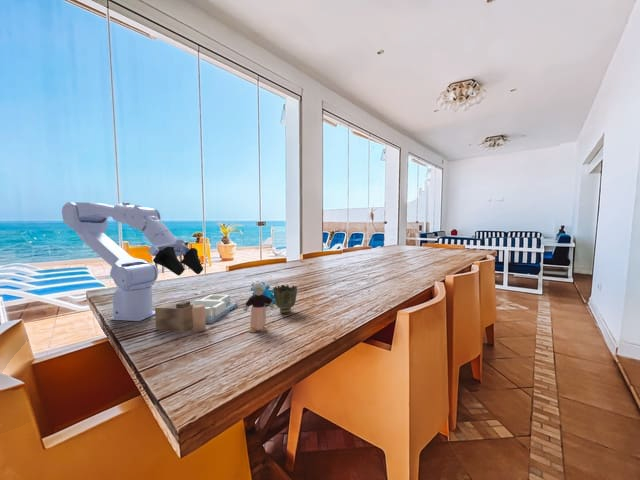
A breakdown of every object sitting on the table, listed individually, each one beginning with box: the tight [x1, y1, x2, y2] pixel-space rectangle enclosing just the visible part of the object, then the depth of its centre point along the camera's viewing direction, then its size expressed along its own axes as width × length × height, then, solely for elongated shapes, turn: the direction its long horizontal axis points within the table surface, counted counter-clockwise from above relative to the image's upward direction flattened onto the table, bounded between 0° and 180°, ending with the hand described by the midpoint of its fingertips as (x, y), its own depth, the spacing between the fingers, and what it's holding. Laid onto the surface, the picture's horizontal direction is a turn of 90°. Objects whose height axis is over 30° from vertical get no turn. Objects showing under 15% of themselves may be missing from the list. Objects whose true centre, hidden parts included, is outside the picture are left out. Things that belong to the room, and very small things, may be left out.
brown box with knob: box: [154, 300, 194, 333], centre depth 69 cm, size 8×4×7 cm, turn 82°
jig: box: [194, 294, 238, 324], centre depth 80 cm, size 12×16×4 cm
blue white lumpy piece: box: [250, 280, 275, 306], centre depth 91 cm, size 11×6×10 cm
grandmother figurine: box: [243, 281, 275, 334], centre depth 67 cm, size 8×4×13 cm, turn 117°
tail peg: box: [192, 305, 207, 332], centre depth 68 cm, size 3×3×6 cm
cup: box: [272, 284, 298, 315], centre depth 80 cm, size 8×7×8 cm
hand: (191, 272), depth 70 cm, fingers open, 7 cm apart
